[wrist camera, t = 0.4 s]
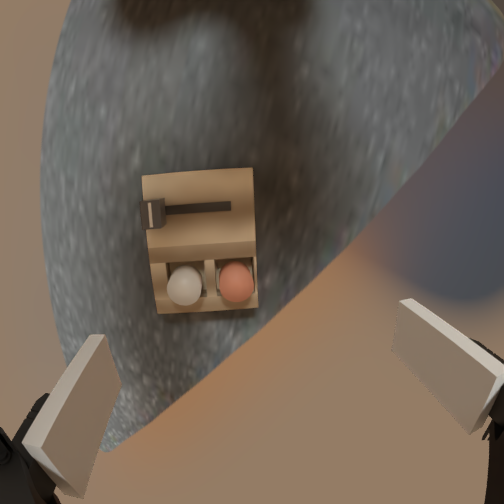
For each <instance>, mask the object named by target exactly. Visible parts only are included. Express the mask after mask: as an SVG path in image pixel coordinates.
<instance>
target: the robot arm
mask: <svg viewBox="0 0 504 504" xmlns="http://www.w3.org/2000/svg"><path fill="white" fill-rule="evenodd" d="M392 351H393V353H394V354H395V355H396V356H397V357H398V358H399V359H400V360H401V361H402V362H403V363H404V364H405V365H406V366H407V367H408V369H409V370H410V371H411V372H412V373H413V374H414V375H415V376H416V377H417V378H418V379H419V380H420V381H421V382H422V383H423V385H425V387H426V388H427V389H428V390H429V391H430V392H431V393H432V394H433V395H434V397H435V398H436V399H437V400H438V401H439V402H440V403H441V404H442V405H443V406H444V407H445V409H446V410H447V411H448V412H449V413H450V414H451V415H452V416H453V417H454V419H455V420H456V421H457V422H458V423H459V424H460V425H461V426H462V428H463V429H464V430H465V431H466V432H467V433H468V434H469V435H470V434H471V433H473V432H475V431H476V430H478V429H479V428H481V427H482V426H483V424H484V423H485V421H486V419H487V417H488V415H489V416H490V417H491V418H492V421H491V423H490V424H489V426H488V428H487V430H486V431H485V433H484V435H483V437H482V440H485V438H486V436H487V435H488V433H489V434H490V436H489V438H488V440H489V467H488V479H487V488H486V496H485V503H484V504H504V360H503V359H501V358H500V357H499V356H497V355H496V354H493V352H492V351H491V350H489V349H487V348H486V347H485V346H484V345H482V344H481V343H480V342H478V341H476V340H473V339H470V338H467V337H466V336H465V335H463V334H462V333H461V332H459V331H458V330H456V329H455V328H453V327H452V326H450V325H449V324H448V323H447V322H445V321H444V320H442V319H441V318H439V317H438V316H437V315H435V314H434V313H432V312H431V311H429V310H428V309H426V308H425V307H424V306H422V305H421V304H419V303H418V302H416V301H415V300H413V299H412V298H411V299H406V300H402V301H399V304H398V312H397V319H396V327H395V333H394V339H393V345H392ZM121 386H122V383H121V381H120V378H119V375H118V372H117V370H116V367H115V364H114V361H113V358H112V355H111V352H110V349H109V346H108V342H107V339H106V336H105V334H103V335H90V336H89V337H88V338H87V340H86V341H85V343H84V344H83V345H82V347H81V348H80V350H79V351H78V353H77V354H76V356H75V357H74V358H73V360H72V361H71V363H70V364H69V366H68V367H67V369H66V370H65V372H64V373H63V375H62V377H61V378H60V380H59V381H58V383H57V384H56V386H55V387H54V389H53V390H52V392H51V394H48V393H45V394H44V395H43V396H42V397H40V398H39V399H38V400H37V401H36V403H35V404H34V406H33V407H32V409H31V412H29V413H28V415H27V418H26V419H25V420H24V421H23V423H22V425H21V426H20V428H19V430H18V431H17V433H16V435H15V436H14V438H13V440H12V441H11V440H10V439H9V437H8V436H7V435H6V433H5V432H4V430H3V429H2V428H1V427H0V504H61V503H60V501H59V499H58V497H57V496H56V495H55V493H54V490H55V487H56V486H57V487H58V488H59V489H60V490H61V491H62V492H63V493H64V494H65V495H69V496H73V497H77V498H81V499H84V495H85V491H86V488H87V485H88V481H89V478H90V475H91V472H92V468H93V465H94V462H95V459H96V456H97V453H98V450H99V447H100V444H101V441H102V438H103V435H104V432H105V429H106V426H107V423H108V421H109V418H110V415H111V412H112V410H113V407H114V404H115V402H116V399H117V396H118V394H119V391H120V388H121Z"/></svg>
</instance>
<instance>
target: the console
mask: <svg viewBox="0 0 504 504" xmlns="http://www.w3.org/2000/svg"><path fill="white" fill-rule="evenodd" d="M142 189H143V200H147V199H157V198H165V210H166V222H167V224H166V225H165V226H164V227H163V228H161V229H149V230H146V235H147V244H148V252H149V260H150V268H151V275H152V282H153V289H154V295H155V301H156V307H157V313H158V314H167V313H187V312H204V311H219V310H233V309H245V308H257V307H258V289H257V263H256V237H255V213H254V188H253V168H232V169H214V170H199V171H187V172H175V173H164V174H155V175H145V176H142ZM232 261H238V262H242V263H244V264H245V265H246V266H247V267H248V268H249V270H250V273H251V276H252V279H253V282H254V290H253V292H252V294H251V295H250V297H249V298H247V299H246V300H244V301H241V302H231V301H229V300H227V299H225V298H224V297H223V296H222V294H221V292H220V289H219V273H220V270H221V268H222V267H223V266H224V265H225V264H227V263H229V262H232ZM181 265H192V266H194V267H196V268H197V269H198V270H199V271H200V273H201V275H202V288H201V294H200V297H199V299H198V300H197V301H196V302H195V303H193V304H191V305H187V306H183V305H179V304H176V303H175V302H173V301H172V300H171V299H170V297H169V295H168V293H167V284H168V282H169V280H170V277H171V275H172V273H173V271H174V270H175V269H176V268H177V267H178V266H181Z"/></svg>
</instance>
